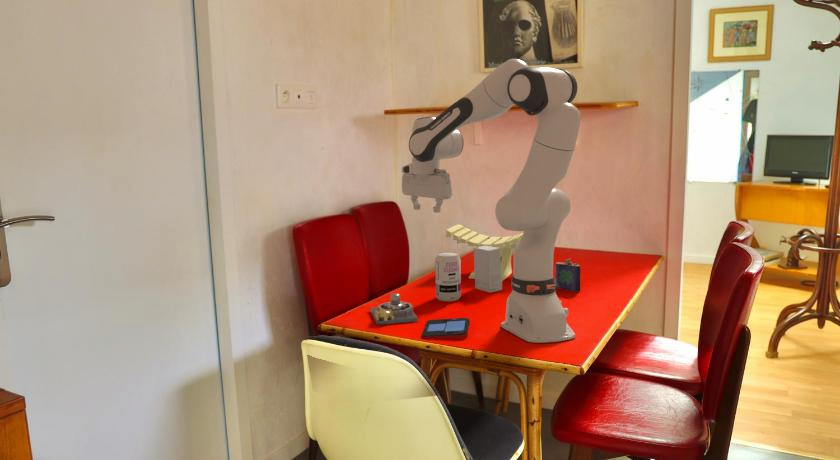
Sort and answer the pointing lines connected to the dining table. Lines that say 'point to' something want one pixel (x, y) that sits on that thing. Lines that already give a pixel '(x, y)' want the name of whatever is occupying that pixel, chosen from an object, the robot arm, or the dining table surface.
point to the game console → (446, 328)
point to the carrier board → (393, 315)
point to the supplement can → (448, 276)
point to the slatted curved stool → (481, 240)
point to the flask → (567, 276)
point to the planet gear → (395, 303)
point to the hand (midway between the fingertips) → (426, 210)
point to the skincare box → (487, 268)
